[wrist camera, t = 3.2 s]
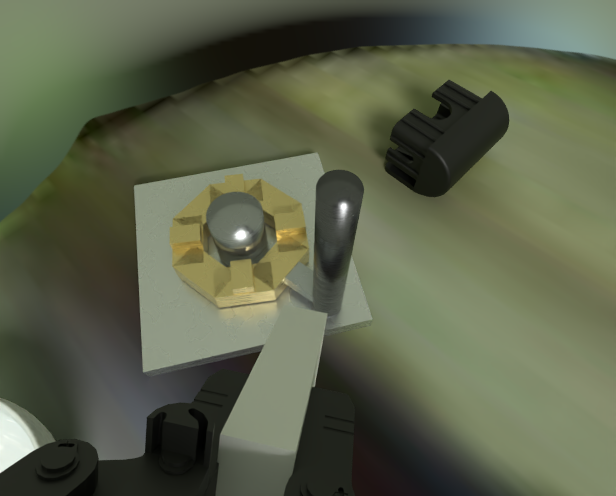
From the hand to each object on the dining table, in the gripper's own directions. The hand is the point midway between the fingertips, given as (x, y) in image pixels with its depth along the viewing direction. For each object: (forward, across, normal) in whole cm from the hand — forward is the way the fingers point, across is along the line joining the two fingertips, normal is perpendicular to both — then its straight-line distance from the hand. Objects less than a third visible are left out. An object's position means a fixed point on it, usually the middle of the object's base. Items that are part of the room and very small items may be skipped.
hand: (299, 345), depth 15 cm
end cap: (+33, -8, -5) cm, 35 cm away
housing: (+23, +8, +5) cm, 25 cm away
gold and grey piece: (+21, +6, +4) cm, 22 cm away
